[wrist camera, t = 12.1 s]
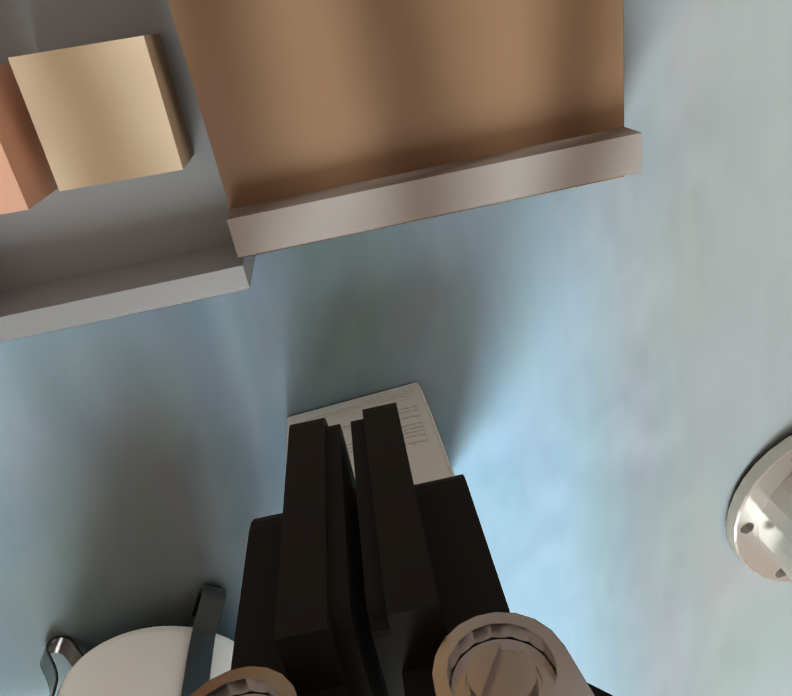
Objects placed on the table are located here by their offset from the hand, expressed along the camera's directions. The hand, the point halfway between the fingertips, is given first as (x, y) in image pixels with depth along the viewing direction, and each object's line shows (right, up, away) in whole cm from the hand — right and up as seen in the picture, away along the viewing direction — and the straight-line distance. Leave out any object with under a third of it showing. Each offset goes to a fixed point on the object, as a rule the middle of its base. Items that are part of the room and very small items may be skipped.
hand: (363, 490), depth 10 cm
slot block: (+1, +14, +16) cm, 22 cm away
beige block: (-10, +12, +15) cm, 22 cm away
